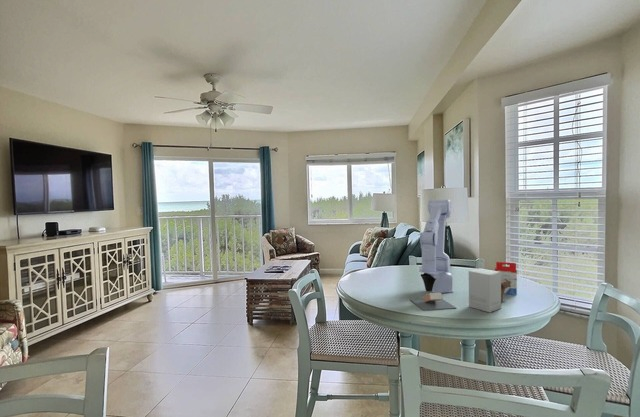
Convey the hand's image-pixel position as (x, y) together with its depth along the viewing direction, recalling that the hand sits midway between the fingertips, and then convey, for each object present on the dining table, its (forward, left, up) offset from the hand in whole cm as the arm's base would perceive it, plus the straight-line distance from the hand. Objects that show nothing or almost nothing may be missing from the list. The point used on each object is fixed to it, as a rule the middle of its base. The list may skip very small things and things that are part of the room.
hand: (428, 291), depth 137 cm
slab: (0, 0, -3) cm, 3 cm away
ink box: (-41, -7, -5) cm, 42 cm away
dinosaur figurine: (-29, +3, -5) cm, 30 cm away
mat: (0, +3, -5) cm, 5 cm away
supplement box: (-19, +10, -5) cm, 22 cm away
